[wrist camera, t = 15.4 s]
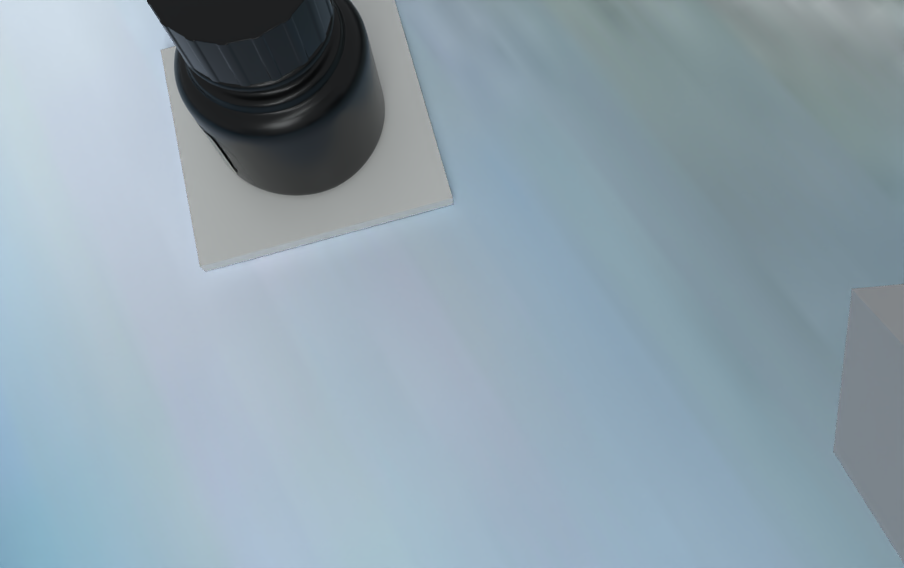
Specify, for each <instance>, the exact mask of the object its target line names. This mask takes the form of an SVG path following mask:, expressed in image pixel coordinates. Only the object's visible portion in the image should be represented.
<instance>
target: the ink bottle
mask: <svg viewBox="0 0 904 568" xmlns="http://www.w3.org/2000/svg"><path fill="white" fill-rule="evenodd" d="M147 2H148V4H149V6H150V7H151V9H152V10H153V12H154V13H155V15H156V16H157V18H158V19H159V21H160V23H161V24H162V26H163V27H164V29H165V30H166V32H167V33H168V35H169V36H170V38H171V40H172V41H173V43H174V44H175V46H176V49H175V56H174V74H175V81H176V85H177V88H178V91H179V94H180V96H181V99H182V101H183V102H184V104H185V106H186V108H187V109H188V111H189V112H190V113H191V115H192V116H193V118H194V119H195V121H196V122H197V124H198V125H199V126H200V128H201V129H202V131H203V132H204V133H205V135H206V136H207V138H208V139H209V140H210V142H211V143H212V145H213V146H214V147H215V149H216V150H217V151H218V153H219V154H220V156H221V157H222V158H223V160H224V161H225V162H226V164H227V165H228V166H229V167H230V168H231V170H232V171H233V172H234V173H236V174H237V175H238V176H239V177H240V178H242V179H243V180H244V181H246V182H248V183H249V184H251V185H253V186H255V187H257V188H259V189H262V190H265V191H268V192H271V193H276V194H281V195H291V196H301V195H311V194H316V193H321V192H324V191H327V190H330V189H332V188H335V187H337V186H339V185H340V184H342V183H344V182H345V181H347V180H348V179H350V178H351V177H352V176H353V175H355V174H356V173H357V172H358V171H359V170H360V169H361V168H362V167H363V165H364V164H365V163H366V162H367V160H368V159H369V158H370V156H371V155H372V153H373V151H374V150H375V148H376V146H377V144H378V142H379V139H380V136H381V133H382V130H383V125H384V119H385V102H384V96H383V91H382V87H381V84H380V80H379V76H378V72H377V68H376V65H375V61H374V57H373V53H372V49H371V46H370V42H369V38H368V34H367V31H366V28H365V25H364V22H363V20H362V18H361V16H360V14H359V12H358V10H357V9H356V7H355V6H354V5H353V3H352V2H351V1H350V0H147Z"/></svg>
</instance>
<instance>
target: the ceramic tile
mask: <svg viewBox="0 0 904 568" xmlns="http://www.w3.org/2000/svg"><path fill="white" fill-rule="evenodd" d="M350 1H351V2H352V3H353V5H354V6H355V7H356V9H357V10H358V12H359V14H360V16H361V18H362V20H363V22H364V25H365V28H366V31H367V34H368V38H369V42H370V46H371V49H372V53H373V57H374V61H375V65H376V68H377V72H378V76H379V80H380V84H381V87H382V91H383V96H384V102H385V119H384V125H383V130H382V133H381V136H380V139H379V142H378V144H377V146H376V148H375V150H374V151H373V153H372V155H371V156H370V158H369V159H368V160H367V162H366V163H365V164H364V165H363V167H362V168H361V169H360V170H359V171H358V172H357V173H356V174H355V175H353V176H352V177H351V178H350V179H348V180H347V181H345V182H344V183H342V184H340V185H339V186H337V187H335V188H332V189H330V190H327V191H324V192H321V193H316V194H311V195H301V196H291V195H281V194H276V193H271V192H268V191H265V190H262V189H259V188H257V187H255V186H253V185H251V184H249V183H248V182H246V181H244V180H243V179H242V178H240V177H239V176H238V175H237V174H236V173H234V172H233V171H232V170H231V168H230V167H229V166H228V165H227V164H226V162H225V161H224V160H223V158H222V157H221V156H220V154H219V153H218V151H217V150H216V149H215V147H214V146H213V145H212V143H211V142H210V140H209V139H208V138H207V136H206V135H205V133H204V132H203V131H202V129H201V128H200V126H199V125H198V124H197V122H196V121H195V119H194V118H193V116H192V115H191V113H190V112H189V111H188V109H187V108H186V106H185V104H184V102H183V101H182V99H181V96H180V94H179V91H178V88H177V85H176V81H175V74H174V56H175V49H176V46H174V47H170V48H166V49H162V50H161V54H162V60H163V65H164V71H165V76H166V82H167V87H168V93H169V98H170V104H171V109H172V115H173V120H174V126H175V131H176V137H177V142H178V148H179V154H180V159H181V165H182V170H183V176H184V181H185V187H186V192H187V198H188V203H189V209H190V214H191V220H192V225H193V231H194V236H195V242H196V248H197V253H198V259H199V264H200V267H201V268H202V269H203V270H204V271H205V272H207V271H210V270H214V269H218V268H221V267H225V266H229V265H232V264H236V263H240V262H243V261H247V260H251V259H254V258H258V257H262V256H265V255H269V254H273V253H276V252H280V251H284V250H287V249H291V248H295V247H298V246H302V245H306V244H309V243H313V242H317V241H320V240H324V239H328V238H331V237H335V236H339V235H343V234H346V233H350V232H354V231H357V230H361V229H365V228H368V227H372V226H376V225H379V224H383V223H387V222H390V221H394V220H398V219H401V218H405V217H409V216H412V215H416V214H420V213H423V212H427V211H431V210H434V209H438V208H442V207H445V206H449V205H453V204H454V203H453V197H452V194H451V190H450V187H449V184H448V180H447V177H446V173H445V170H444V167H443V163H442V160H441V156H440V153H439V150H438V146H437V143H436V139H435V136H434V133H433V129H432V126H431V122H430V119H429V116H428V112H427V109H426V105H425V102H424V99H423V95H422V92H421V88H420V85H419V82H418V78H417V75H416V71H415V68H414V65H413V61H412V58H411V54H410V51H409V48H408V44H407V41H406V37H405V34H404V31H403V27H402V24H401V20H400V17H399V14H398V10H397V7H396V3H395V0H350Z"/></svg>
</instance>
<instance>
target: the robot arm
mask: <svg viewBox="0 0 904 568" xmlns="http://www.w3.org/2000/svg"><path fill="white" fill-rule="evenodd" d="M833 452H834V453H835V455H836V457H837V458H838V460H839V461H840V463H841V465H842V466H843V468H844V469H845V471H846V473H847V474H848V476H849V477H850V479H851V480H852V482H853V484H854V485H855V487H856V488H857V490H858V492H859V493H860V495H861V496H862V498H863V500H864V501H865V503H866V504H867V506H868V507H869V509H870V511H871V512H872V514H873V515H874V517H875V519H876V520H877V522H878V523H879V525H880V527H881V528H882V530H883V531H884V533H885V534H886V536H887V538H888V539H889V541H890V542H891V544H892V546H893V547H894V549H895V550H896V552H897V554H898V555H899V557H900V558H901V560H902V561H903V563H904V284H899V285H888V286H878V287H867V288H857V289H852V292H851V301H850V310H849V318H848V327H847V336H846V345H845V353H844V362H843V371H842V379H841V388H840V397H839V405H838V414H837V423H836V432H835V440H834V449H833Z"/></svg>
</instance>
